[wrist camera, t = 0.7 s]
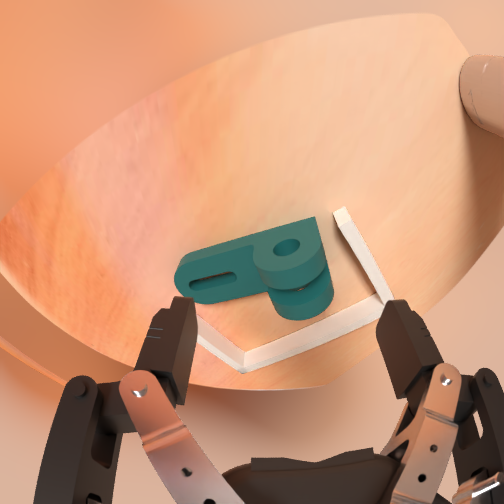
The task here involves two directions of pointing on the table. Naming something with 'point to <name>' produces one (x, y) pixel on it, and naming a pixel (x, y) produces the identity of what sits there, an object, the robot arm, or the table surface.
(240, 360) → the white open frame
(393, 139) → the table surface
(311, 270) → the bracket
